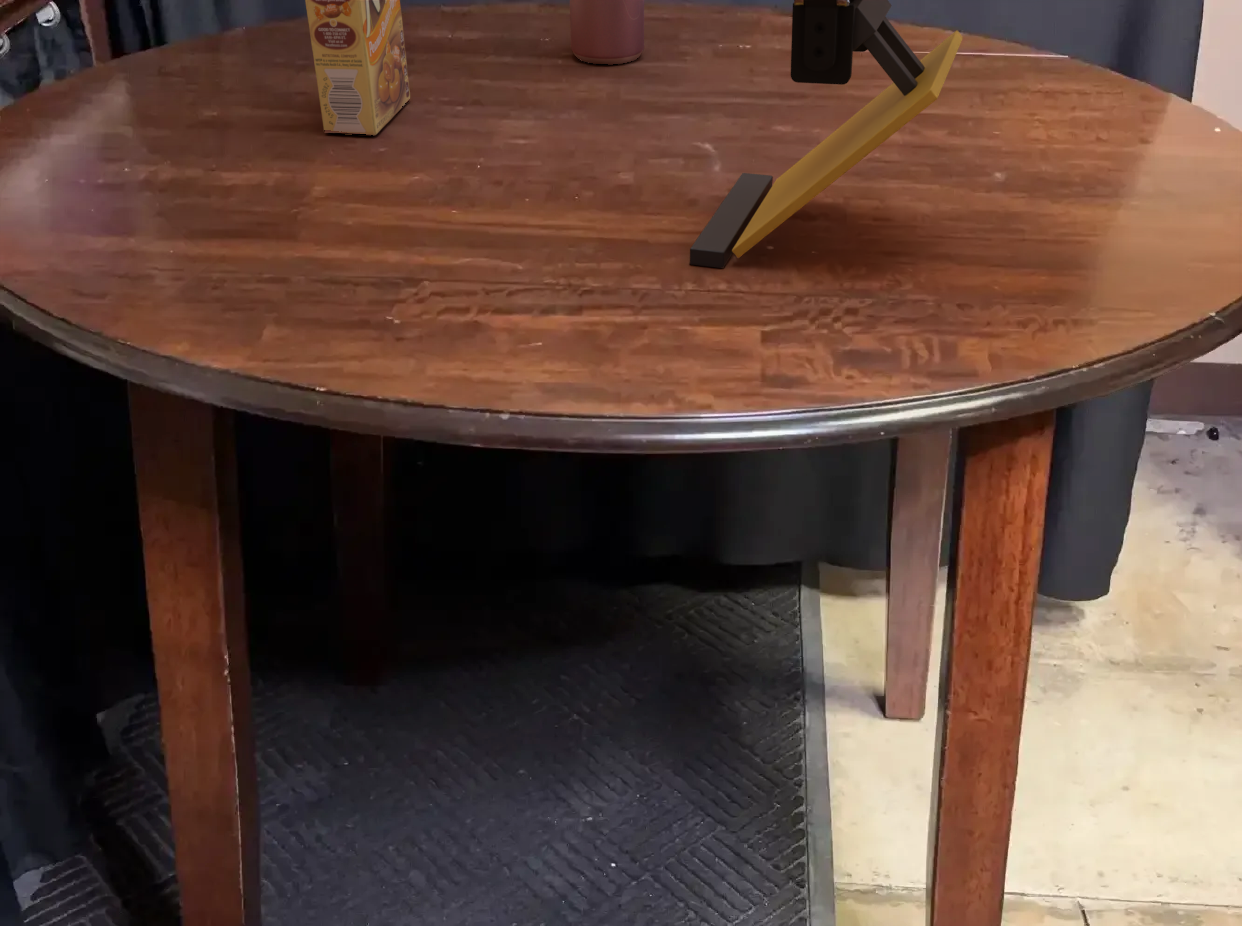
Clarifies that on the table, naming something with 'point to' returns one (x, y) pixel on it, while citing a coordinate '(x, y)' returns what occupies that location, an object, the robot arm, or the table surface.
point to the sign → (858, 119)
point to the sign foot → (730, 221)
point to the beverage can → (607, 30)
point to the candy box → (358, 62)
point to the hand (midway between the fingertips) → (831, 62)
